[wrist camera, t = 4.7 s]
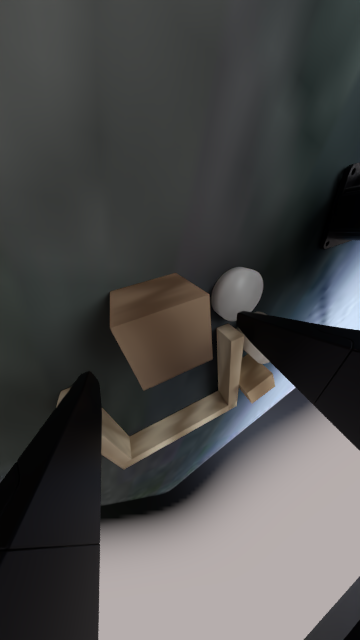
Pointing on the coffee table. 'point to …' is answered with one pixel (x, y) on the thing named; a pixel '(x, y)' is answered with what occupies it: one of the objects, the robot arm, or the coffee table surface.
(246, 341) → the pale oval dome
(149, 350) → the walnut block
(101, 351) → the coffee table surface
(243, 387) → the oak cube
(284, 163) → the coffee table surface
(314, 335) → the robot arm
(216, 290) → the grey pebble
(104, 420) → the bay
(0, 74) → the coffee table surface
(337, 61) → the coffee table surface
